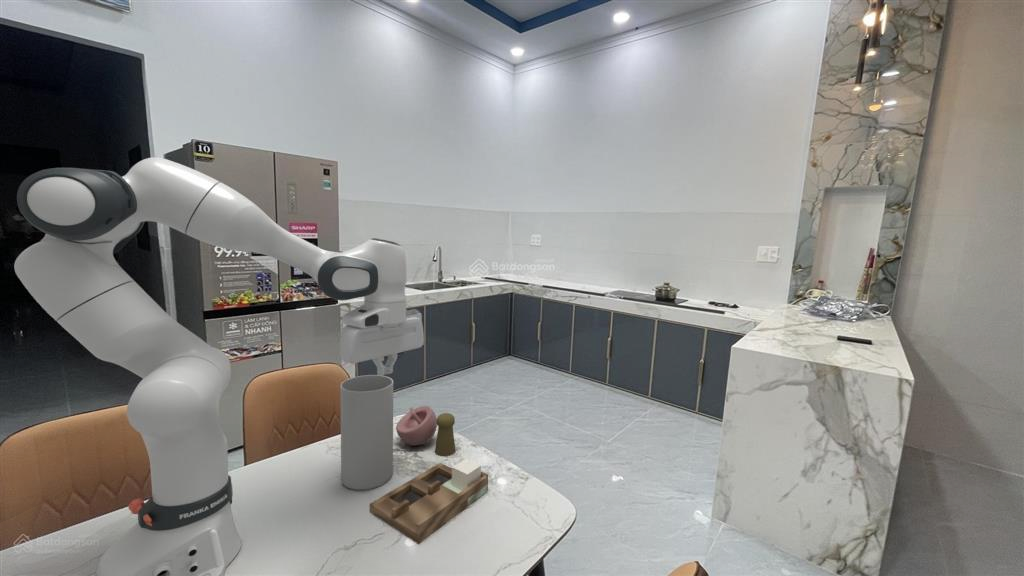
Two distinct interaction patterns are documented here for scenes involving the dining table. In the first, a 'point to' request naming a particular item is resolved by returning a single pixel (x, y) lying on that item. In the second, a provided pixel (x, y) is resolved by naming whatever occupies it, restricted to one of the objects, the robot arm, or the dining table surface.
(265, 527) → the dining table surface
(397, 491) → the box
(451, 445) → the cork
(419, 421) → the mortar and pestle
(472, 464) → the block
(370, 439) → the cylinder vase
